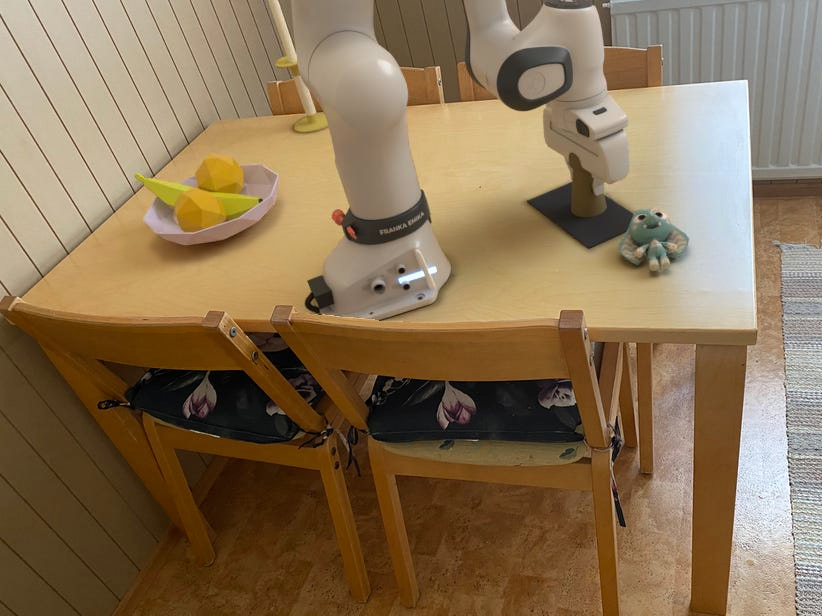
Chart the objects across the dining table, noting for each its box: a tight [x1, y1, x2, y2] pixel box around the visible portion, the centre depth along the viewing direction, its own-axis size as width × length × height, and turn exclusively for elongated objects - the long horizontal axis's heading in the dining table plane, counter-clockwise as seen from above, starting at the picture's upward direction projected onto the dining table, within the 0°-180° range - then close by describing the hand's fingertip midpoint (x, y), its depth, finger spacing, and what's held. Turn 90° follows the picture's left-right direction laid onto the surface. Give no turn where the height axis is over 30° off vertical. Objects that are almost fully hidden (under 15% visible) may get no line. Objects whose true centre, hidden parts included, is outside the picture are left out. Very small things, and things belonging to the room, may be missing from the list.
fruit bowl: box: [133, 152, 280, 246], centre depth 146 cm, size 28×27×11 cm
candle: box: [267, 0, 329, 134], centre depth 169 cm, size 10×10×32 cm
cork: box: [569, 152, 607, 217], centre depth 124 cm, size 6×6×11 cm
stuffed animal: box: [617, 206, 690, 272], centre depth 113 cm, size 11×7×12 cm
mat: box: [527, 181, 634, 250], centre depth 128 cm, size 11×20×1 cm, turn 27°
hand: (587, 186), depth 125 cm, fingers closed on cork, 5 cm apart
